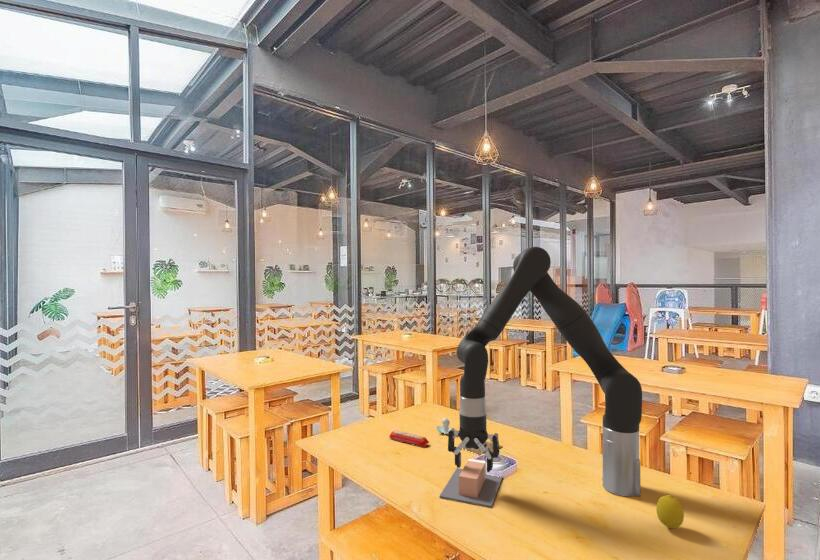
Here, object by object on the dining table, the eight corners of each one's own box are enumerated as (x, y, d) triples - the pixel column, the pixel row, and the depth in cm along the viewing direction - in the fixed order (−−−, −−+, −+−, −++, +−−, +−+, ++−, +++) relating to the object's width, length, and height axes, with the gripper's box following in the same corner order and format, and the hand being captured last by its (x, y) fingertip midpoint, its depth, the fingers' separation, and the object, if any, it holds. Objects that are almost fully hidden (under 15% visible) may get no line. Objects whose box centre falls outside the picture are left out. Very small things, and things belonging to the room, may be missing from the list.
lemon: (673, 521, 104) (673, 488, 104) (689, 535, 98) (689, 500, 98) (651, 522, 104) (651, 489, 104) (665, 536, 98) (665, 501, 98)
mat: (502, 477, 127) (502, 475, 127) (491, 507, 110) (491, 505, 110) (456, 469, 132) (456, 468, 132) (439, 497, 115) (439, 495, 115)
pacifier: (441, 429, 168) (435, 434, 162) (441, 413, 168) (435, 417, 162) (458, 432, 164) (452, 437, 159) (458, 416, 164) (453, 420, 159)
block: (458, 476, 116) (469, 458, 127) (458, 494, 116) (469, 475, 127) (476, 479, 114) (485, 461, 125) (477, 497, 114) (485, 478, 125)
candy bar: (387, 439, 157) (387, 431, 157) (393, 436, 160) (393, 428, 160) (424, 449, 149) (424, 440, 149) (430, 445, 152) (430, 437, 152)
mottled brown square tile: (504, 447, 150) (504, 444, 150) (485, 458, 141) (485, 455, 141) (475, 439, 158) (475, 436, 158) (455, 449, 149) (455, 446, 149)
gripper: (500, 410, 122) (501, 466, 122) (451, 405, 127) (452, 460, 127) (495, 418, 115) (496, 478, 115) (444, 413, 120) (445, 470, 120)
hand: (473, 468), depth 121 cm, fingers open, 8 cm apart
